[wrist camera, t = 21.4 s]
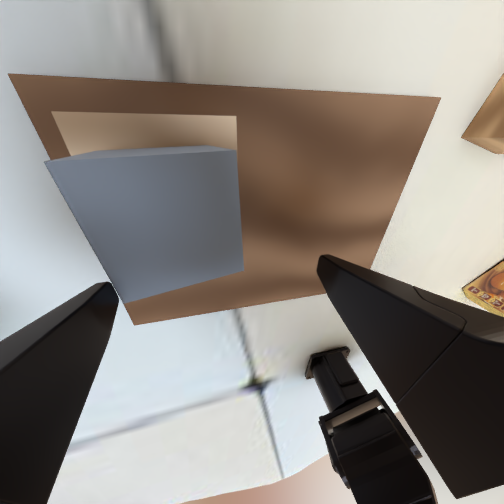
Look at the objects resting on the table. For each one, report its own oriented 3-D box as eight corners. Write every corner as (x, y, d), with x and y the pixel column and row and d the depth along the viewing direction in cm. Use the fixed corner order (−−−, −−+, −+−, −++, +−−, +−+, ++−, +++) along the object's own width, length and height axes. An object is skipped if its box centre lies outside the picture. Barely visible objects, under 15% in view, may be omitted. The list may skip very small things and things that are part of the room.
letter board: (358, 283, 22) (362, 287, 22) (136, 320, 18) (134, 325, 17) (432, 99, 13) (441, 97, 13) (18, 77, 9) (7, 73, 8)
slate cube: (218, 229, 14) (244, 270, 10) (136, 245, 12) (123, 303, 8) (206, 145, 11) (236, 149, 7) (97, 150, 9) (43, 161, 5)
